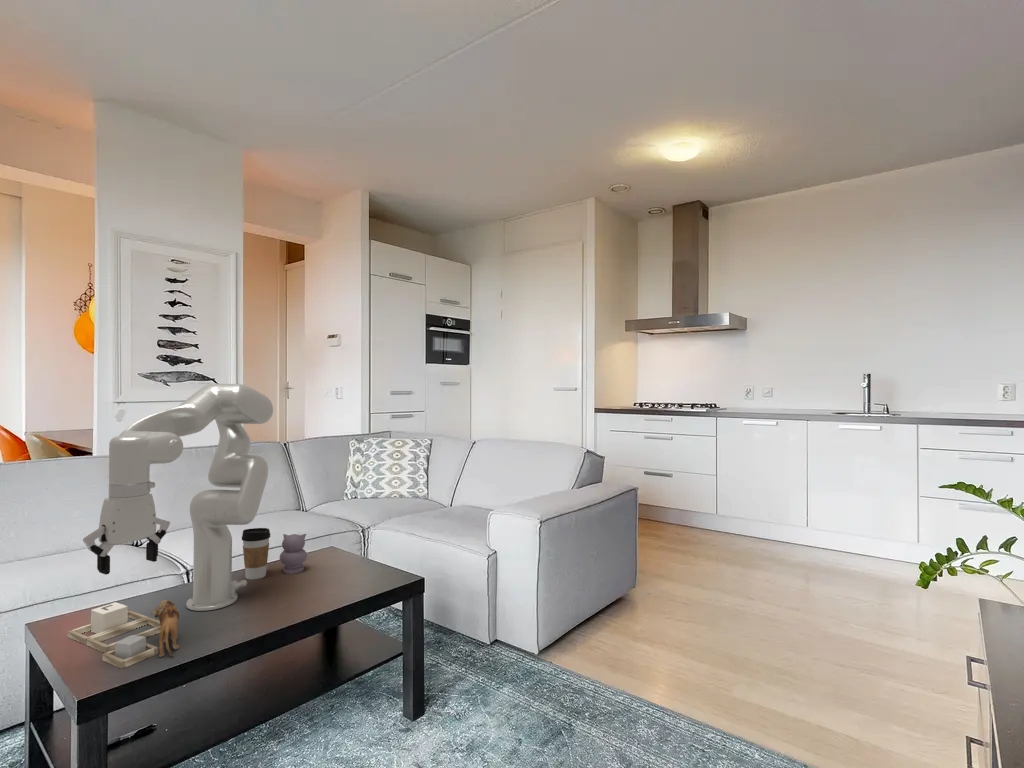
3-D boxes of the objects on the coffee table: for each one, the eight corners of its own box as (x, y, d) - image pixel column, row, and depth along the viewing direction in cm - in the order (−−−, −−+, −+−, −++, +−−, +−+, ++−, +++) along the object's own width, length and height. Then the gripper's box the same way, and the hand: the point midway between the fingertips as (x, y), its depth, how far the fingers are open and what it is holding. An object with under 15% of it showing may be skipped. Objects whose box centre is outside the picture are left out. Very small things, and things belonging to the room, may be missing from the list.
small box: (139, 646, 128) (139, 640, 128) (158, 653, 125) (158, 647, 125) (102, 660, 122) (102, 654, 122) (121, 668, 118) (121, 662, 118)
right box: (130, 615, 145) (130, 610, 145) (148, 622, 141) (148, 617, 141) (67, 637, 133) (67, 631, 133) (85, 644, 129) (85, 638, 129)
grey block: (131, 652, 126) (131, 634, 126) (145, 654, 125) (145, 636, 125) (115, 660, 122) (115, 642, 122) (129, 663, 121) (130, 644, 121)
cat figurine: (275, 574, 178) (275, 537, 178) (285, 566, 185) (285, 531, 186) (301, 574, 178) (302, 537, 178) (310, 566, 186) (310, 531, 186)
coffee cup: (237, 576, 176) (237, 529, 176) (264, 570, 182) (264, 524, 182) (246, 583, 170) (247, 534, 170) (274, 576, 176) (274, 529, 176)
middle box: (149, 622, 141) (149, 617, 141) (168, 629, 137) (168, 624, 137) (86, 645, 129) (86, 639, 129) (105, 653, 125) (105, 647, 125)
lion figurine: (150, 638, 133) (151, 600, 133) (176, 631, 136) (176, 595, 136) (159, 661, 121) (160, 621, 121) (187, 654, 125) (187, 614, 125)
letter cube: (115, 623, 141) (115, 601, 141) (127, 628, 138) (127, 605, 138) (90, 632, 136) (91, 609, 136) (102, 636, 133) (103, 613, 133)
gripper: (160, 483, 133) (159, 553, 133) (75, 495, 117) (75, 575, 117) (178, 486, 129) (177, 558, 129) (93, 499, 114) (92, 581, 114)
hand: (128, 566), depth 123 cm, fingers open, 9 cm apart
